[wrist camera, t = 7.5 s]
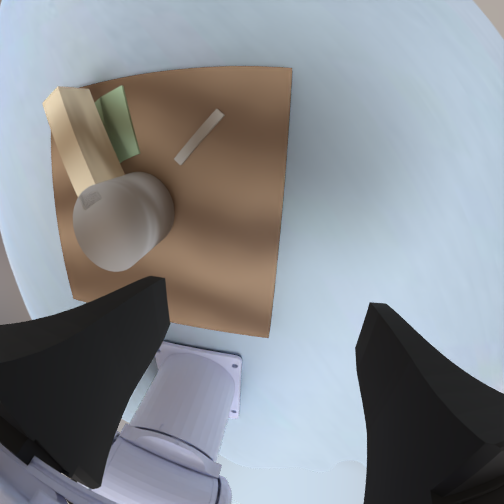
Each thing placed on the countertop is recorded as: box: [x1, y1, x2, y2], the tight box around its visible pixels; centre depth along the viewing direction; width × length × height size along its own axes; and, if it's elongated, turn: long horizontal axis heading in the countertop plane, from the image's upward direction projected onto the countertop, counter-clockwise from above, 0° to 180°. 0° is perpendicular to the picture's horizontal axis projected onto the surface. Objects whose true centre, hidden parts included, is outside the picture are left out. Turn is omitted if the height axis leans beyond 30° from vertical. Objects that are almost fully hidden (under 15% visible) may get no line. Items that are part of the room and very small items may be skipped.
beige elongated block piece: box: [43, 86, 174, 272], centre depth 15 cm, size 12×5×4 cm, turn 25°
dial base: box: [51, 66, 292, 338], centre depth 18 cm, size 18×18×1 cm
